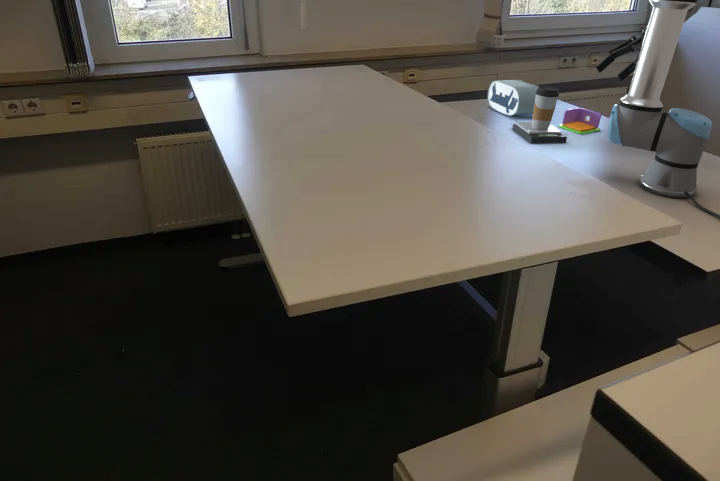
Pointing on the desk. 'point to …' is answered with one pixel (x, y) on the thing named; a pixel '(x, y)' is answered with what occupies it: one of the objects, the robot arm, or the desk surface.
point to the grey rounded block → (512, 97)
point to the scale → (538, 133)
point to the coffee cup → (544, 107)
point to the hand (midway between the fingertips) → (608, 74)
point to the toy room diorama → (581, 120)
